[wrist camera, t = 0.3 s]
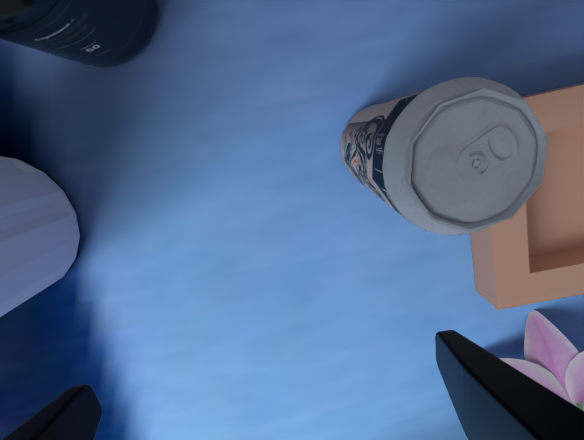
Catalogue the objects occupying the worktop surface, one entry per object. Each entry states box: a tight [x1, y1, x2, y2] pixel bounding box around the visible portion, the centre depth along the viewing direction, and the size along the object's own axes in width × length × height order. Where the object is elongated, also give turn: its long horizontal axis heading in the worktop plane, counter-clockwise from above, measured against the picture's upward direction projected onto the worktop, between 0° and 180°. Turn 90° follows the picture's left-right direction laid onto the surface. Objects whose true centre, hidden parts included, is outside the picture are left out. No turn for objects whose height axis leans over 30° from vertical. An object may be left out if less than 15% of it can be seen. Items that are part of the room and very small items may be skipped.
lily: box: [499, 310, 584, 411], centre depth 22 cm, size 12×12×10 cm
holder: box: [471, 82, 584, 310], centre depth 21 cm, size 12×12×3 cm
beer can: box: [340, 77, 549, 235], centre depth 16 cm, size 5×5×12 cm
